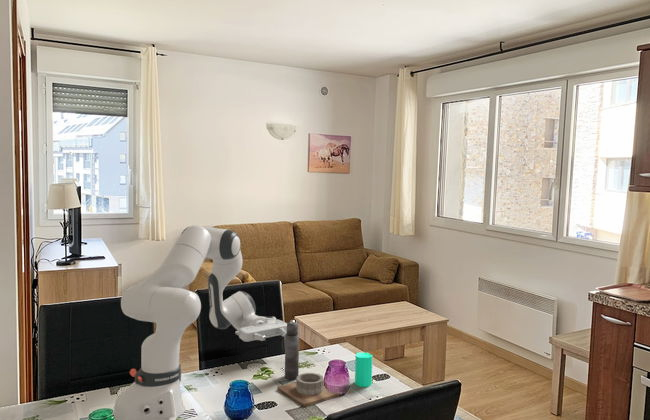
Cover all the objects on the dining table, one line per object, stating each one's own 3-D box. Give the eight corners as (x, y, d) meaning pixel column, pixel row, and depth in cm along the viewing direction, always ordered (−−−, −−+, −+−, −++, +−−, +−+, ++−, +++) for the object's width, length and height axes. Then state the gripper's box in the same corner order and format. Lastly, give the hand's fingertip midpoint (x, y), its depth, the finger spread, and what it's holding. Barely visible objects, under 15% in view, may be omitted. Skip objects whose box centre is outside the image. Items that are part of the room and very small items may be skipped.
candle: (372, 387, 176) (373, 353, 175) (355, 386, 176) (356, 353, 175) (370, 380, 182) (372, 348, 181) (354, 379, 182) (355, 347, 181)
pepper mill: (289, 381, 179) (290, 323, 178) (282, 376, 183) (282, 319, 182) (301, 378, 182) (302, 320, 181) (293, 373, 186) (294, 317, 185)
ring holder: (304, 407, 159) (304, 392, 159) (277, 389, 172) (277, 375, 172) (342, 394, 169) (343, 380, 169) (314, 379, 182) (314, 365, 182)
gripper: (233, 323, 196) (250, 333, 185) (277, 315, 208) (296, 324, 198) (232, 339, 196) (250, 349, 185) (277, 330, 209) (296, 339, 198)
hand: (274, 336), depth 192 cm, fingers open, 8 cm apart
